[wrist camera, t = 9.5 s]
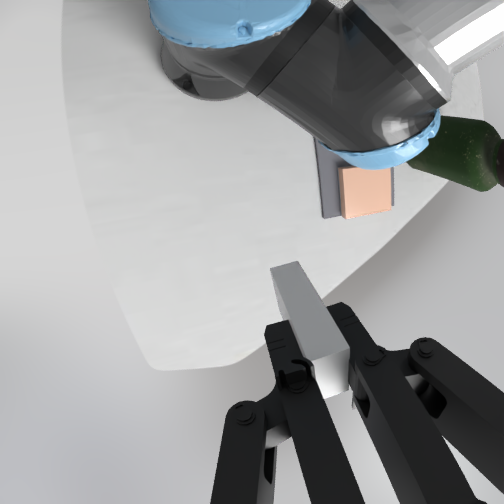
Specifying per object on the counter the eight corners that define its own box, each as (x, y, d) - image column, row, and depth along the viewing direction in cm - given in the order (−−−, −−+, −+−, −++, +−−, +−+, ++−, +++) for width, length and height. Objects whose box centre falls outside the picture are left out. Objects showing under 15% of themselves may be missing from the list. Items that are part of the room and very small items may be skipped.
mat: (313, 131, 38) (314, 131, 38) (389, 126, 39) (390, 126, 39) (323, 218, 44) (324, 218, 44) (392, 204, 45) (394, 205, 45)
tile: (342, 169, 39) (390, 163, 39) (337, 167, 41) (384, 162, 41) (345, 219, 42) (391, 210, 43) (341, 215, 44) (385, 207, 45)
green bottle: (390, 153, 41) (510, 191, 19) (408, 103, 37) (528, 113, 15) (426, 178, 44) (532, 225, 21) (443, 132, 40) (550, 159, 18)
